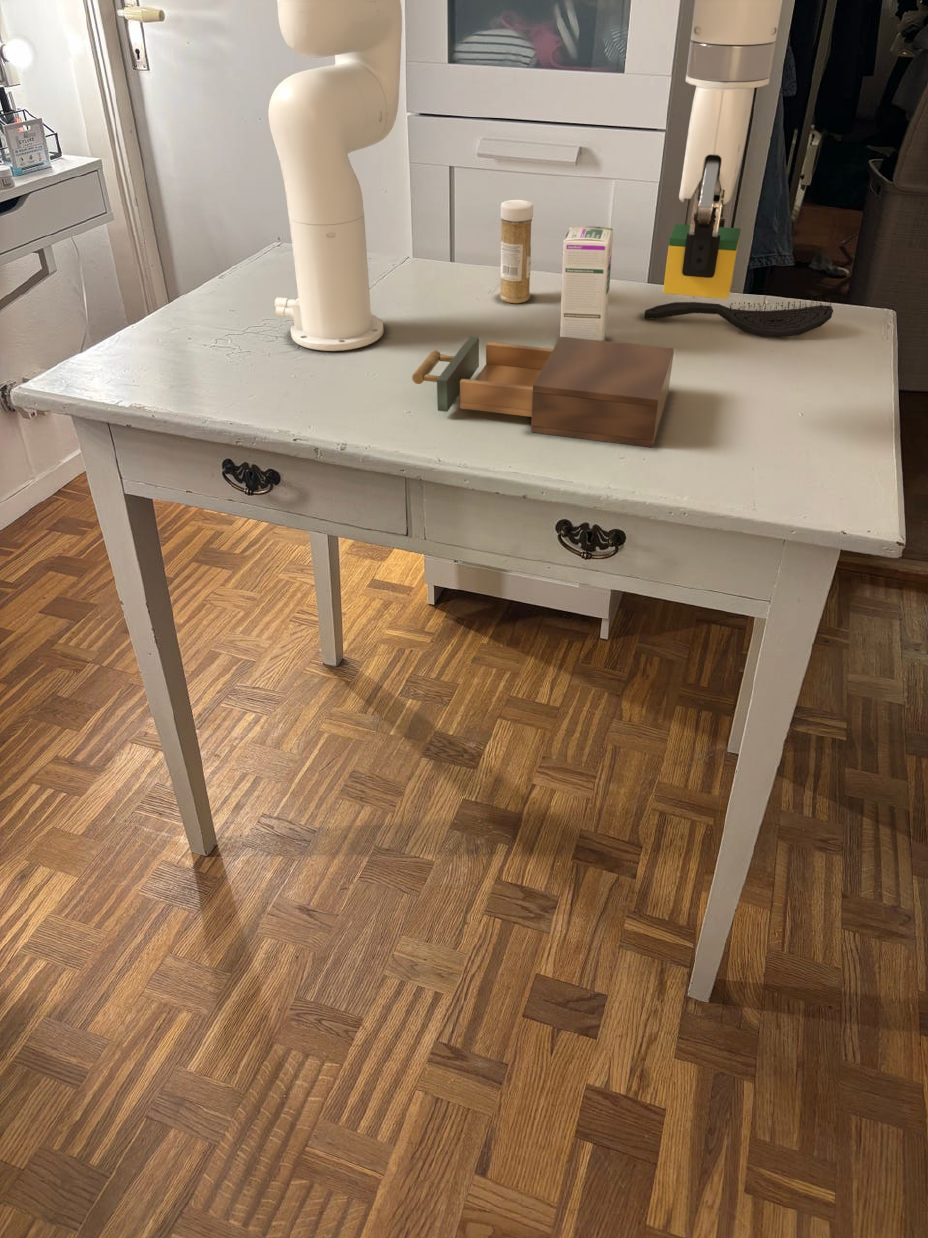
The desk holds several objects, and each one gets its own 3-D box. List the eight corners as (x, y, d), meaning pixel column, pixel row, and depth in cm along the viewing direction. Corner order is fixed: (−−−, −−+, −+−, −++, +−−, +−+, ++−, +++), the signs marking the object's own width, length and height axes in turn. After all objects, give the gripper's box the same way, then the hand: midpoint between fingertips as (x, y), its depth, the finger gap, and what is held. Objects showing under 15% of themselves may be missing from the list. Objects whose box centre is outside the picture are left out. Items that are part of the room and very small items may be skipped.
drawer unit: (530, 432, 106) (532, 385, 102) (557, 380, 117) (560, 336, 113) (652, 447, 103) (658, 399, 99) (668, 392, 114) (674, 347, 110)
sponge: (662, 293, 97) (669, 237, 94) (668, 278, 101) (675, 223, 98) (728, 299, 96) (737, 242, 92) (731, 283, 100) (740, 228, 96)
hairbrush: (648, 287, 135) (832, 291, 129) (646, 312, 137) (828, 317, 131) (642, 307, 128) (836, 313, 123) (641, 334, 131) (831, 340, 125)
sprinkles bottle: (536, 298, 140) (540, 202, 131) (515, 306, 137) (517, 209, 129) (513, 291, 142) (516, 196, 134) (492, 298, 140) (493, 202, 131)
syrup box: (602, 355, 123) (612, 240, 114) (557, 352, 124) (563, 237, 115) (606, 338, 127) (615, 226, 118) (562, 335, 128) (568, 224, 119)
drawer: (403, 406, 109) (402, 375, 107) (438, 361, 119) (438, 332, 117) (543, 423, 105) (545, 392, 103) (567, 376, 116) (569, 346, 113)
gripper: (696, 50, 93) (673, 240, 104) (677, 77, 80) (653, 291, 92) (775, 52, 91) (743, 245, 103) (768, 80, 79) (732, 297, 90)
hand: (700, 264), depth 97 cm, fingers closed on sponge, 5 cm apart
